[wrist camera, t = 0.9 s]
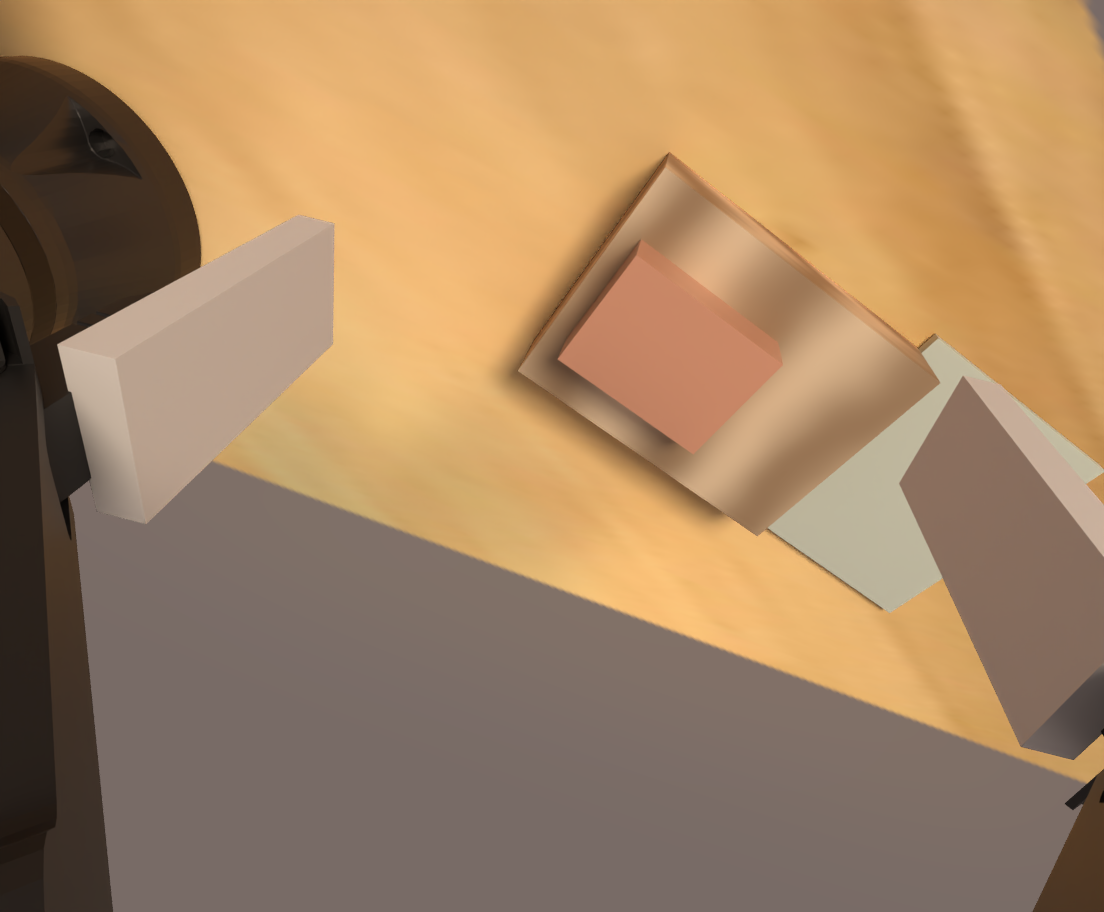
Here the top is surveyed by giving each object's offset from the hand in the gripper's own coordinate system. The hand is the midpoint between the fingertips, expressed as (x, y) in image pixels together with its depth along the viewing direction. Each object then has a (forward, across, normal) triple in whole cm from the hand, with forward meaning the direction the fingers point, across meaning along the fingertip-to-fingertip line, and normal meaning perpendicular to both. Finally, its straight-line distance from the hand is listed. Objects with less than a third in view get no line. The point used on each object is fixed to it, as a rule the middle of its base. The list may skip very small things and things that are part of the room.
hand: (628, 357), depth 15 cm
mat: (+21, +18, -13) cm, 31 cm away
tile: (+18, +3, -7) cm, 19 cm away
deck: (+22, +6, -8) cm, 24 cm away
